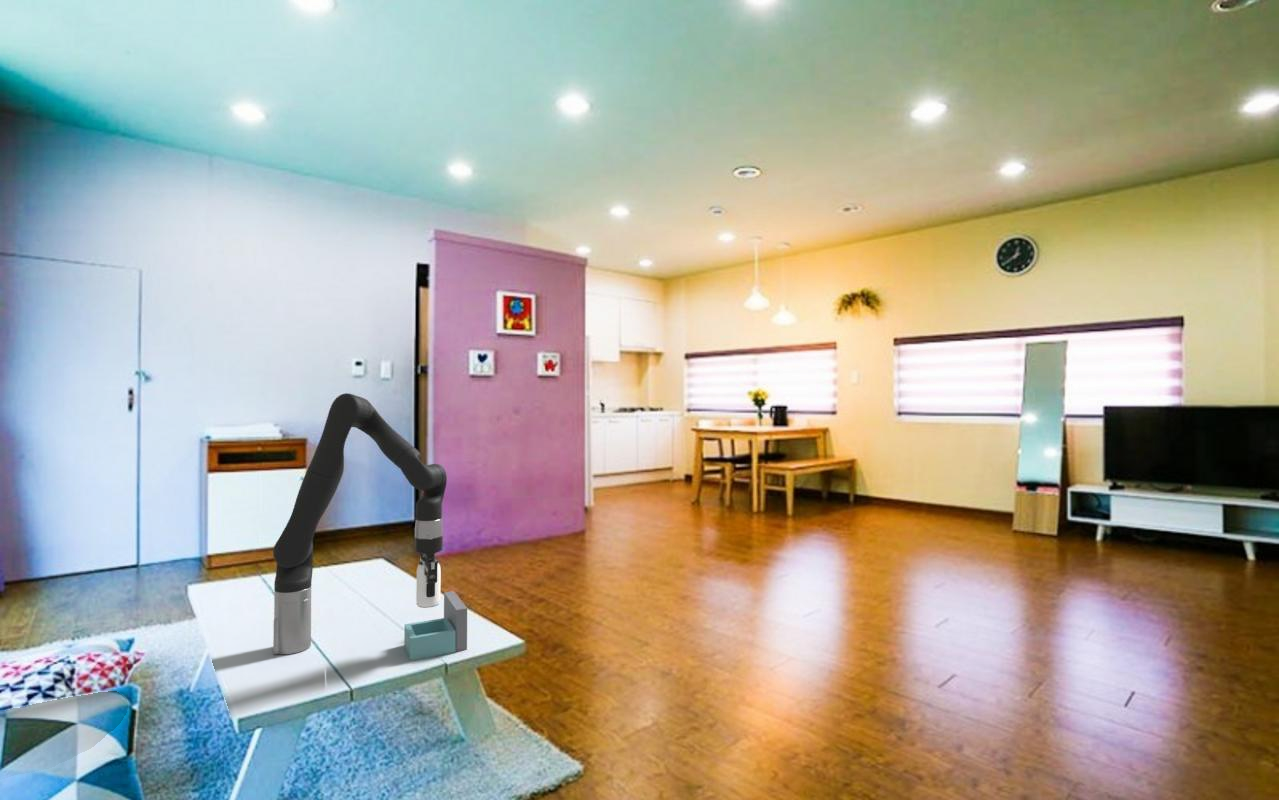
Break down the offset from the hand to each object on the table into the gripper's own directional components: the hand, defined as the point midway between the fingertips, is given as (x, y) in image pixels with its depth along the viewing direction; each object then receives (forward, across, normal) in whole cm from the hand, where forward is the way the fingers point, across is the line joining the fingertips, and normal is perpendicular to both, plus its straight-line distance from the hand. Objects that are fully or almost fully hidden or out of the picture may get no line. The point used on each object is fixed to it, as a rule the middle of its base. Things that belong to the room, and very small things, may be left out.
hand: (428, 593), depth 174 cm
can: (+3, 0, 0) cm, 3 cm away
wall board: (+16, -3, +8) cm, 18 cm away
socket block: (+16, 0, 0) cm, 16 cm away
